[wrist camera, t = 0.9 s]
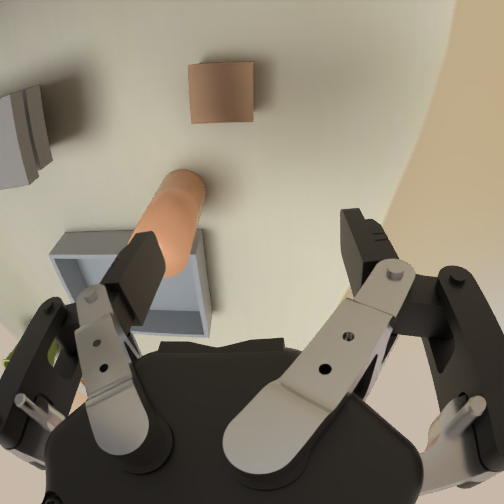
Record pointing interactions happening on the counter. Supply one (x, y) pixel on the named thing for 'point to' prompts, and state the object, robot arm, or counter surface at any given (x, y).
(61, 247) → the tote
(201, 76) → the cube
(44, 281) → the counter surface
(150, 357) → the robot arm
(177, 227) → the peach dome-topped cylinder
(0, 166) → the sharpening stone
